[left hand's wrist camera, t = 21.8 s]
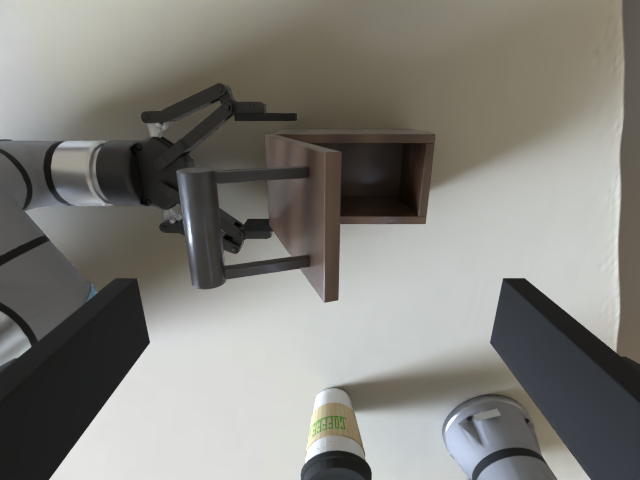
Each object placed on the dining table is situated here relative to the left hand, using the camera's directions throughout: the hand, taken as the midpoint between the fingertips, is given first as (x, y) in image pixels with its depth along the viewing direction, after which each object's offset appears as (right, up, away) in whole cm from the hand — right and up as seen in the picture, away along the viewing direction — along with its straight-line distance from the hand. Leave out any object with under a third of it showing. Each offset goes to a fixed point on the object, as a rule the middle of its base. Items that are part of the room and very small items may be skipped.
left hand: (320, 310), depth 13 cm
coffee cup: (+2, -26, +48) cm, 54 cm away
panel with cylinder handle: (-2, +6, +16) cm, 17 cm away
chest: (+3, +13, +34) cm, 36 cm away
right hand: (-3, +10, +28) cm, 30 cm away
